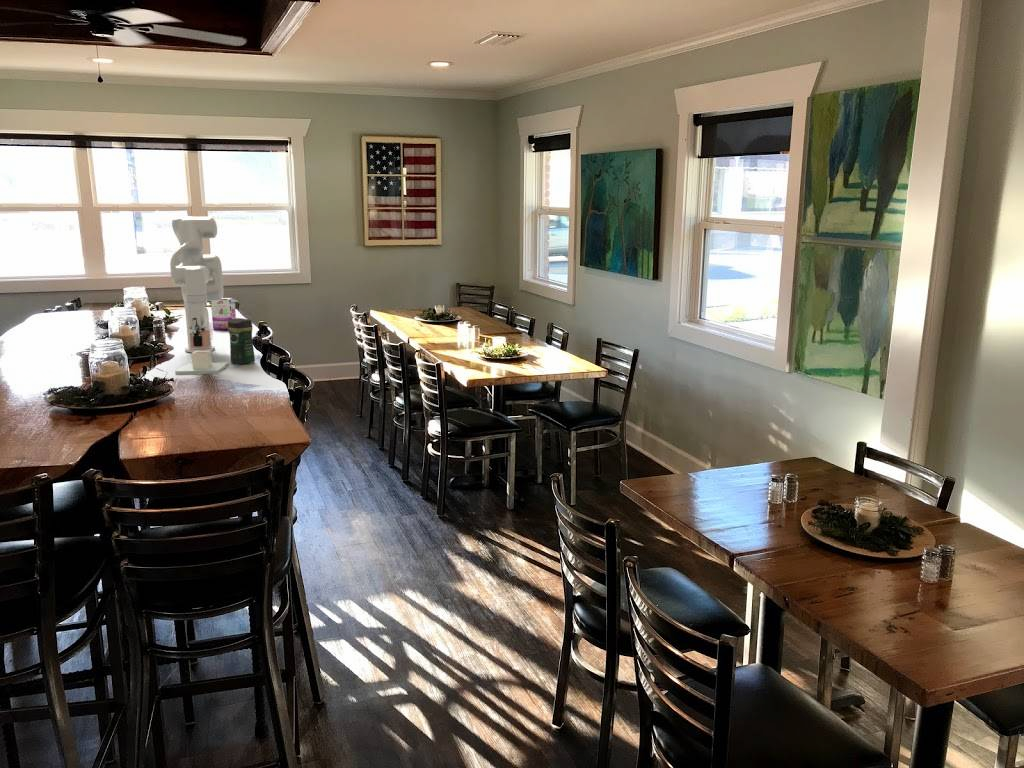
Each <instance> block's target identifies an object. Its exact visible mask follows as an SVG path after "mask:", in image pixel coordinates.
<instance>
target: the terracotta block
mask: <svg viewBox="0 0 1024 768" xmlns="http://www.w3.org/2000/svg"><path fill="white" fill-rule="evenodd" d="M198 332H199V330H198ZM201 336H202V346H194V343H193V331H192V332H190V344H191V348H207V347H209V346H210V345H211V346H212V343H211V342H210V339H211V331H210V330H201Z"/></svg>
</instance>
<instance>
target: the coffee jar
mask: <svg viewBox="0 0 1024 768" xmlns="http://www.w3.org/2000/svg"><path fill="white" fill-rule="evenodd" d="M227 331H228V333H229V334H228V335H229V347H230V348H229V349H230V351H229V352H230V354H229V355H230V356H229V357H230V362H231V363H232V364H236V363H237V365H245V364H246V365H247V363H250V364H252V363H254V362H255V360H256V359H255V349H254V343H253V323H252V320H250V319H249V318H248V319H247V318H242V317H236V318H234V319H230V320H229V321H228V330H227ZM251 362H252V363H251Z"/></svg>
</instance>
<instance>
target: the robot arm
mask: <svg viewBox="0 0 1024 768" xmlns="http://www.w3.org/2000/svg"><path fill="white" fill-rule="evenodd" d="M171 227H172V230H173V233H174V235H175V237H176V239H177V240H178V242H179V245H180V246H179V248H177V249H176V250H175V252H174V253H173V254H172V256H171V258H170V263H169V264H170V265H169V266H170V277H171V281H172V283H173V284H174V285H176V286H180V290H181V296H182V300H183V304H184V305H183V306H184V311H185V312H184V313H185V321H186V322H185V323H186V335H187V345H188V347H187V346H186V347H185V348H184V351H185V352H186V353H193V352H194V351H211V352H212V351H215V349H216V347H215V346H214V345H212V344H211V345H210V346H209V347H207V348H191V344H190V332H192V331H193V343H194V346H202V336H201V330H210V329H211V328H210V317H209V310H208V308H207V306H206V304H207V303H208V302H211V301H215V300H221V299H222V298H224V294H225V293H224V279H223V269H222V268H223V267H222V266H223V265H222V262H221V259H220V257H219V256H218V255H217V254H203V251H204V242H203V239H215V238H216V237H217V235H218V224H217V221H216V219H215V218H214V217H213V216H180V217H175V218H173V220H172V222H171ZM181 264H182V265H181ZM210 278H211V279H210ZM198 330H199V332H198ZM211 341H212V340H211V338H210V342H211Z"/></svg>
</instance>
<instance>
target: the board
mask: <svg viewBox="0 0 1024 768" xmlns="http://www.w3.org/2000/svg"><path fill="white" fill-rule="evenodd" d="M228 366H229V362H212V366H211V367H209V368H193V367H192V362H188V363H186V364H184V365H183V366H181V367H180V368H177V370H175V375H212V374H214V375H215V374H217V375H218V374H220V373H221V372H222V371H224V370H225V369H226V368H227V367H228ZM224 368H225V369H224Z"/></svg>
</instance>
